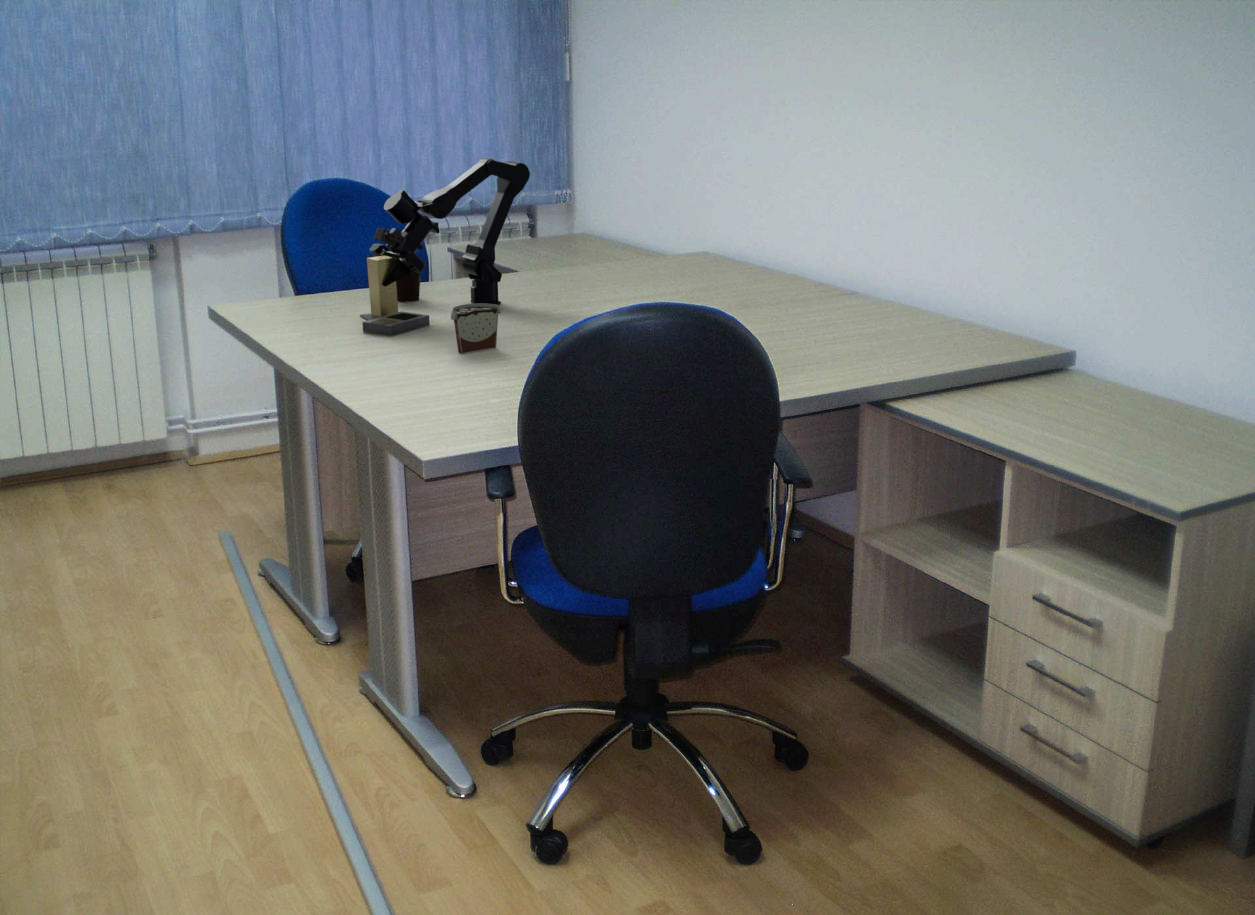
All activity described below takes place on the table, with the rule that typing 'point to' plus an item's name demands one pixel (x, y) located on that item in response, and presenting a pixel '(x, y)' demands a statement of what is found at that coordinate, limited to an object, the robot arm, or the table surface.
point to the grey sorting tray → (396, 323)
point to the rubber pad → (367, 316)
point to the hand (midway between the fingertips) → (378, 284)
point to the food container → (475, 326)
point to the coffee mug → (408, 287)
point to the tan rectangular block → (381, 287)
